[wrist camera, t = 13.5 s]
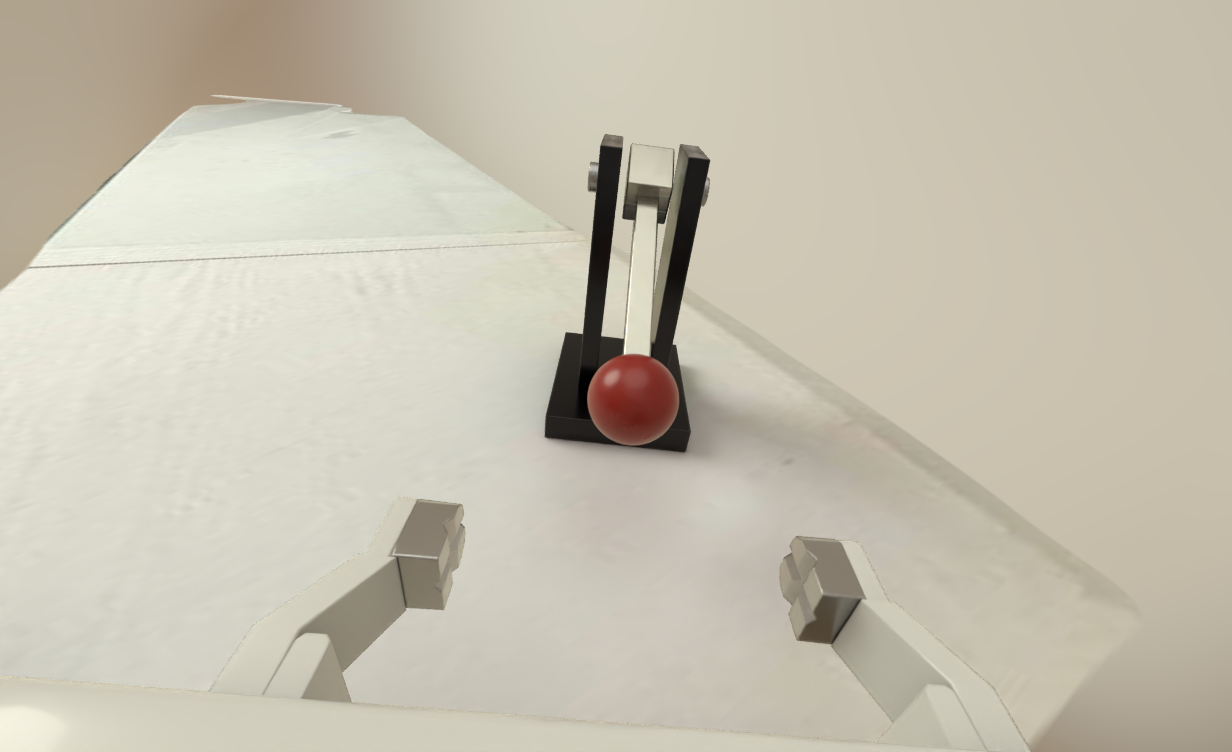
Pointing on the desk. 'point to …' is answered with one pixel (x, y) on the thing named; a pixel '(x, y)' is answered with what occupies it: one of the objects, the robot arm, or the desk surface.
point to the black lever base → (591, 348)
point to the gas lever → (639, 316)
